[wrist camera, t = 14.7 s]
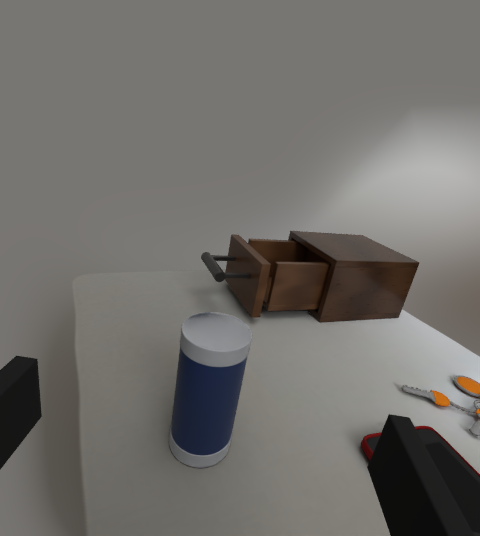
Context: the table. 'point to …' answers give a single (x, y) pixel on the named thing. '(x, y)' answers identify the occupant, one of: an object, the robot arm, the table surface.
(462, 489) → the cell phone
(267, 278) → the drawer
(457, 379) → the key chain
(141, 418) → the table surface
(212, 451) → the blue cylindrical container
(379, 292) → the cabinet
